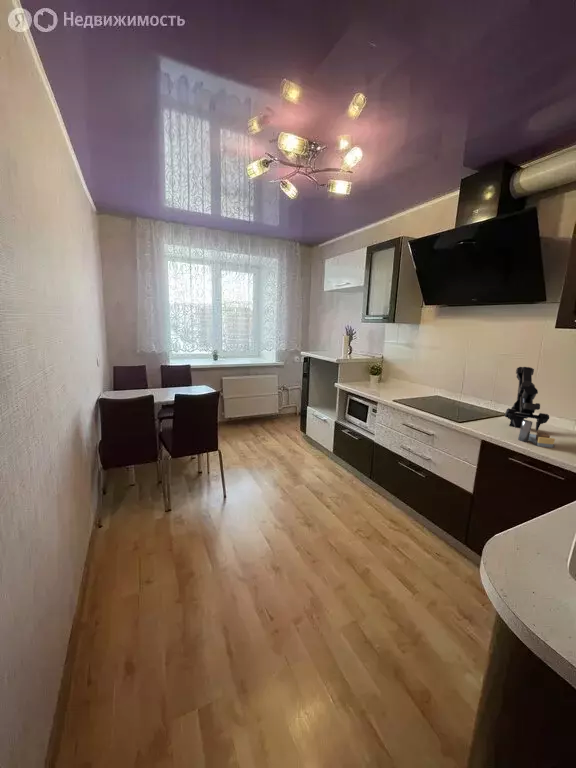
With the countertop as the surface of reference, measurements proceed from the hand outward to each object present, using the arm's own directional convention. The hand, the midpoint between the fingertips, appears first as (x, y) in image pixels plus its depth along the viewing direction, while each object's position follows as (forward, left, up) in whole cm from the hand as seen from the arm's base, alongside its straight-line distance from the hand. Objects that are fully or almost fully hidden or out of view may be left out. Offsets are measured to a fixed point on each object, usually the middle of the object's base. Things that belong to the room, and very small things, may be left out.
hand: (526, 429), depth 169 cm
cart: (+6, +5, -7) cm, 10 cm away
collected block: (+7, +2, -5) cm, 9 cm away
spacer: (0, +1, -7) cm, 7 cm away
